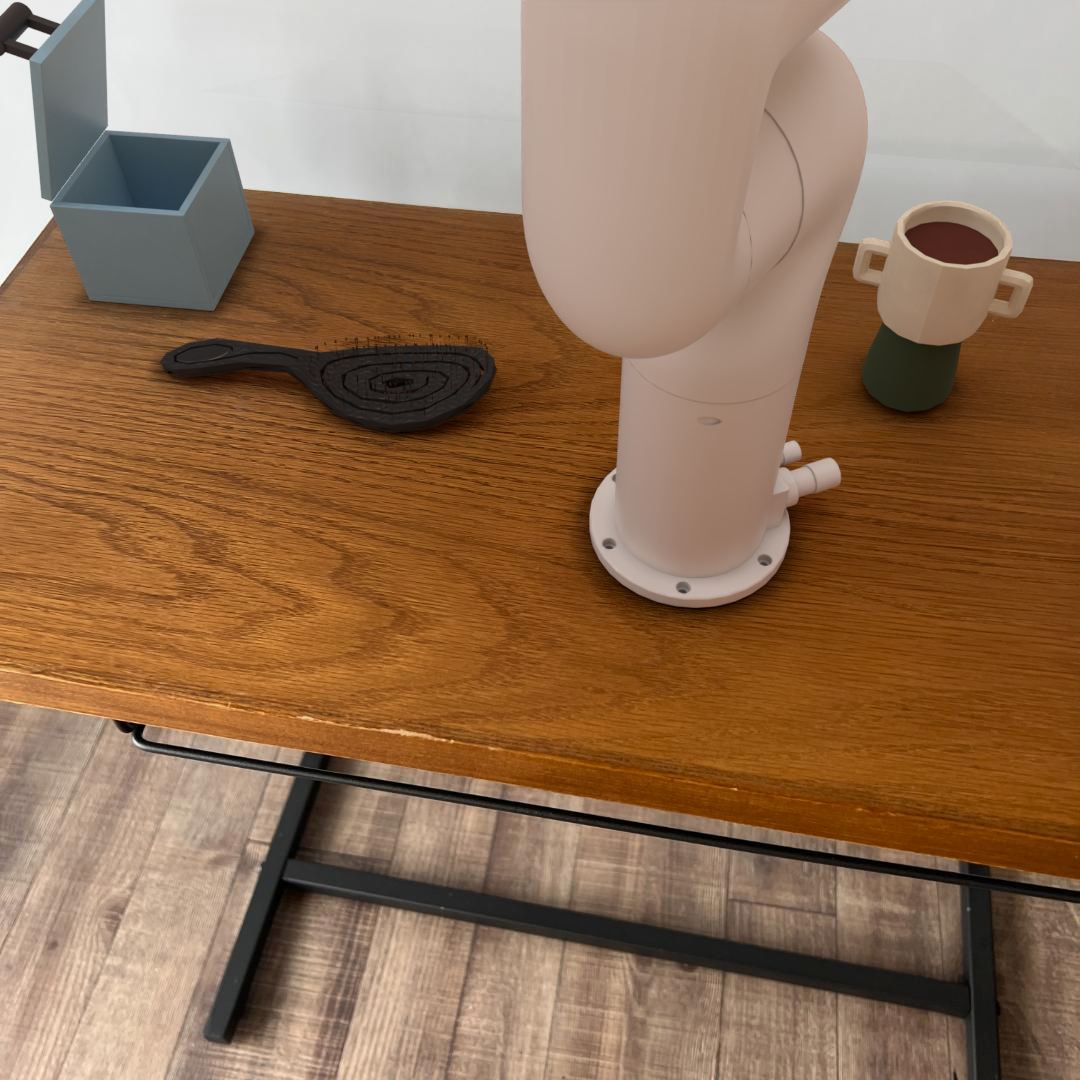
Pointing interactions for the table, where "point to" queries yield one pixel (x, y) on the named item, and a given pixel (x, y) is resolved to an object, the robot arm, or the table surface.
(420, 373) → the hairbrush
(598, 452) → the table surface
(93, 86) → the lid
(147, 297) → the box
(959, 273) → the cream handled cup
